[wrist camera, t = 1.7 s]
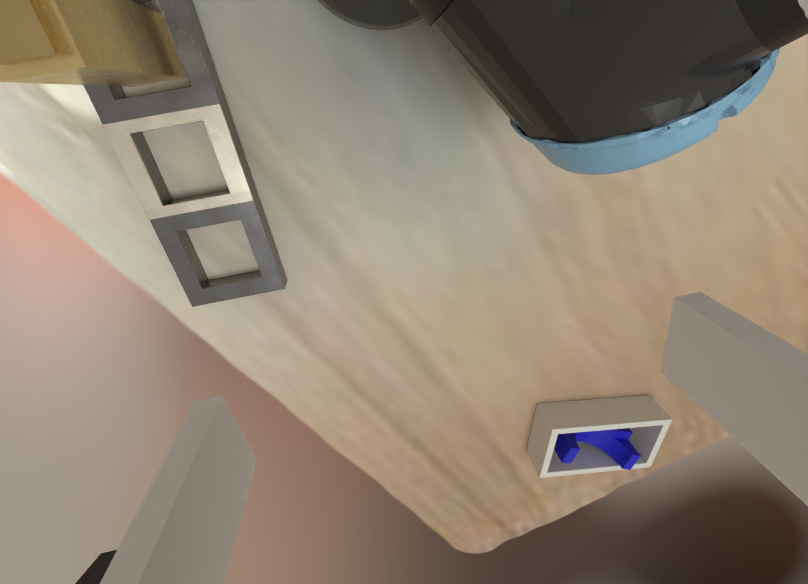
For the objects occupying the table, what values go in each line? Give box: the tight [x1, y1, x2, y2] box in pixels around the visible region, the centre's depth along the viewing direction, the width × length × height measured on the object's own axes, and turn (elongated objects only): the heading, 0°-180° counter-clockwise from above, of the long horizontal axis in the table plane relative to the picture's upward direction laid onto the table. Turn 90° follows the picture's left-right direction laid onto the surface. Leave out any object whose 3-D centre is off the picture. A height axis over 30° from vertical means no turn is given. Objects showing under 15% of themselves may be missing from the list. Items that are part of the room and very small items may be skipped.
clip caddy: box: [526, 395, 672, 478], centre depth 58 cm, size 10×18×5 cm, turn 89°
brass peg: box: [0, 0, 185, 87], centre depth 26 cm, size 5×5×15 cm
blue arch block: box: [554, 428, 641, 470], centre depth 58 cm, size 12×4×6 cm, turn 74°
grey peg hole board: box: [84, 0, 287, 307], centre depth 35 cm, size 28×10×2 cm, turn 9°
